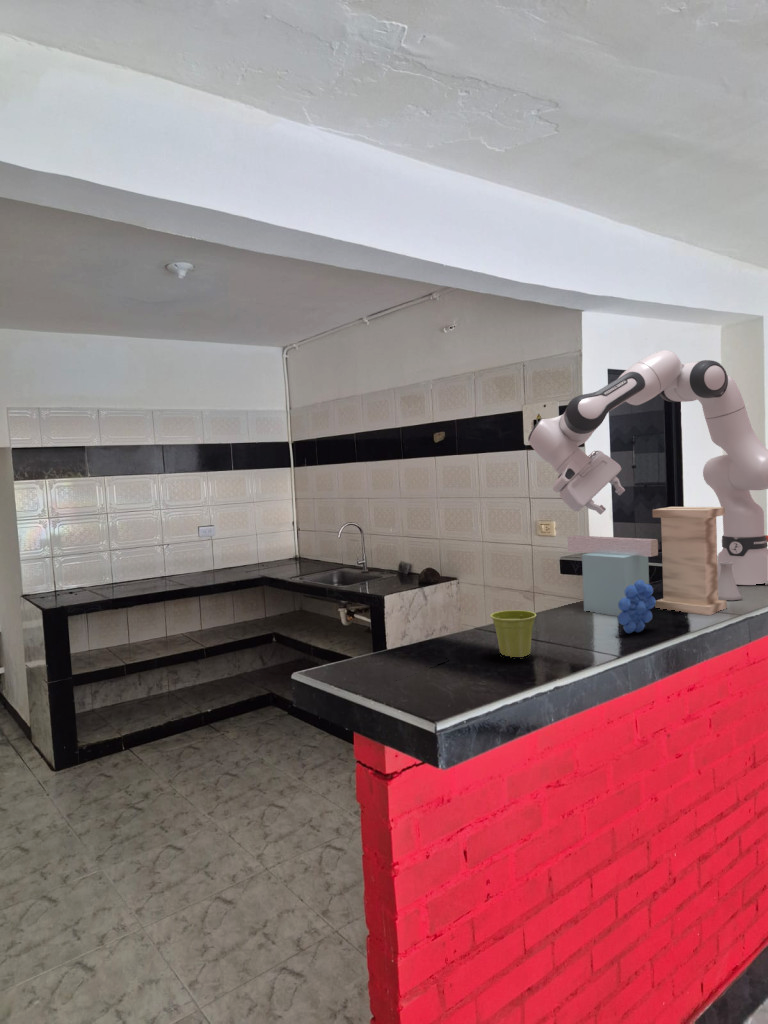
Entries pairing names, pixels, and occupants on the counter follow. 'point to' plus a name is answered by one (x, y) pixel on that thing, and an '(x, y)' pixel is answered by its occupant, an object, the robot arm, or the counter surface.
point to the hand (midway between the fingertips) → (613, 502)
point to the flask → (727, 583)
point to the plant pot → (514, 631)
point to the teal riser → (610, 579)
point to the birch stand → (690, 559)
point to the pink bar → (613, 545)
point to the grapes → (636, 606)
